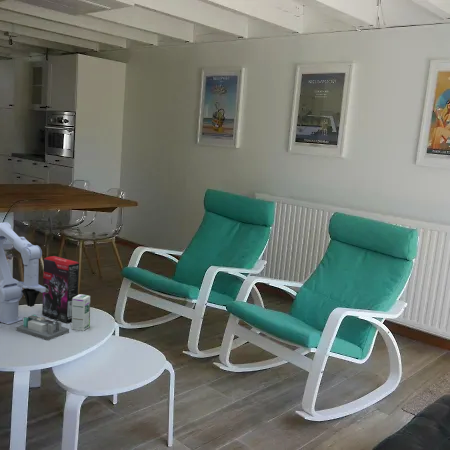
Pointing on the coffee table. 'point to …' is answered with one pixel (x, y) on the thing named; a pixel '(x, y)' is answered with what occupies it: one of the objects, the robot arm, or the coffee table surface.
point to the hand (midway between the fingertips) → (30, 305)
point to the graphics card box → (59, 287)
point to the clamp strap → (42, 320)
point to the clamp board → (44, 334)
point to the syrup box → (81, 312)
